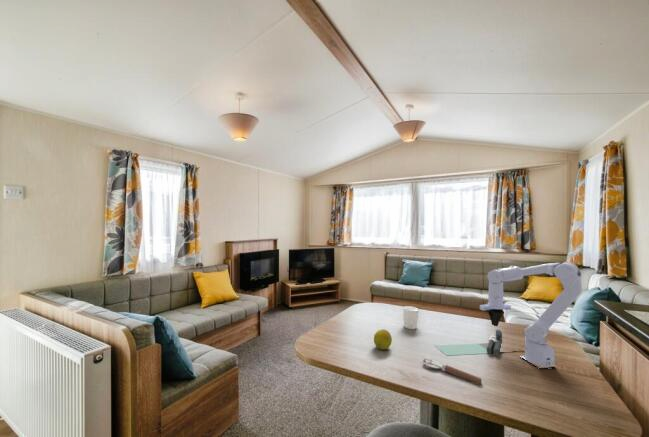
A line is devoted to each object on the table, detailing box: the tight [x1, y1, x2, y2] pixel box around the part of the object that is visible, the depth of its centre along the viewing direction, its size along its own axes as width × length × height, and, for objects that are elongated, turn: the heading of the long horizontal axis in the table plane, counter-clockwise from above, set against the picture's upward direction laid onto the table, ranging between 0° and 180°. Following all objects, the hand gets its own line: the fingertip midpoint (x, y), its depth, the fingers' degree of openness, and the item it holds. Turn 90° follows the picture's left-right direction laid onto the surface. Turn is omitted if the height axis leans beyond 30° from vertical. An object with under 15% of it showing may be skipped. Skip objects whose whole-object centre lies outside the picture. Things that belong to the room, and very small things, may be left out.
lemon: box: [373, 328, 393, 351], centre depth 122 cm, size 11×8×8 cm
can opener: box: [487, 329, 503, 357], centre depth 125 cm, size 19×5×6 cm, turn 143°
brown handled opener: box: [422, 356, 482, 385], centre depth 103 cm, size 20×6×3 cm, turn 50°
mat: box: [435, 342, 500, 357], centre depth 124 cm, size 9×39×1 cm, turn 99°
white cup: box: [402, 305, 419, 330], centre depth 148 cm, size 8×8×10 cm
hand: (494, 325), depth 125 cm, fingers closed
